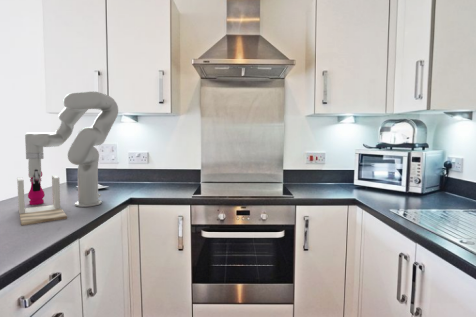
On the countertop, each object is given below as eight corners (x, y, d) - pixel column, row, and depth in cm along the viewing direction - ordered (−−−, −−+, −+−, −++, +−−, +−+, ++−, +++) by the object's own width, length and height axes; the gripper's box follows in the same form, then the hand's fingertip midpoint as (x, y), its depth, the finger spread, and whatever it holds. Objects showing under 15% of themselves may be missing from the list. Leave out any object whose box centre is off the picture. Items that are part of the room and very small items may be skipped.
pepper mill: (25, 205, 144) (24, 167, 143) (31, 202, 151) (30, 165, 150) (41, 204, 146) (40, 167, 145) (47, 201, 153) (45, 165, 152)
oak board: (19, 216, 126) (19, 213, 125) (61, 210, 136) (61, 208, 136) (21, 225, 113) (21, 222, 113) (67, 218, 124) (67, 215, 124)
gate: (18, 210, 135) (17, 177, 134) (57, 205, 146) (56, 175, 144) (19, 214, 128) (18, 180, 127) (60, 209, 138) (59, 177, 137)
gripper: (24, 155, 151) (26, 188, 152) (27, 157, 138) (28, 193, 139) (41, 155, 156) (42, 186, 157) (45, 157, 143) (46, 191, 144)
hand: (36, 189), depth 148 cm, fingers closed on pepper mill, 5 cm apart
